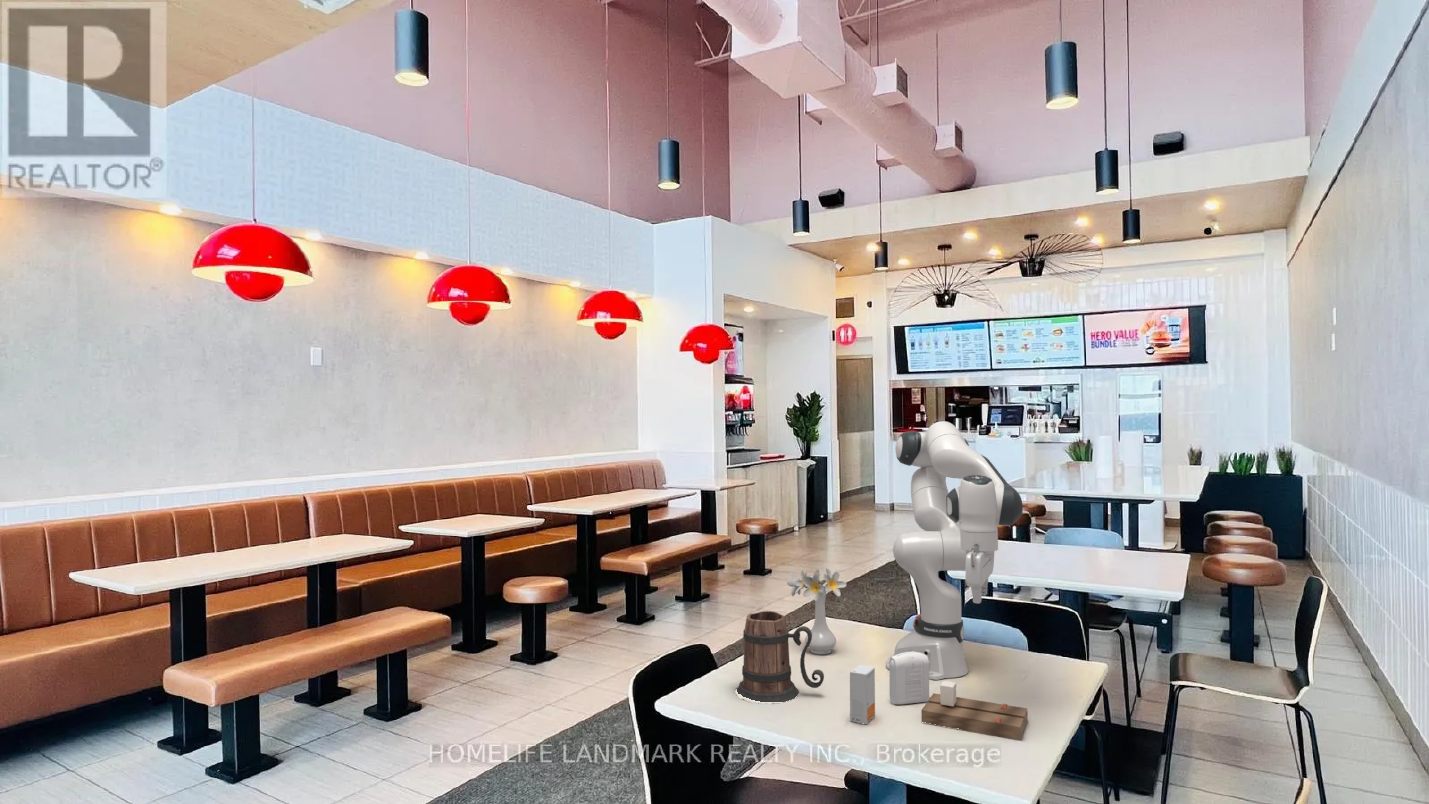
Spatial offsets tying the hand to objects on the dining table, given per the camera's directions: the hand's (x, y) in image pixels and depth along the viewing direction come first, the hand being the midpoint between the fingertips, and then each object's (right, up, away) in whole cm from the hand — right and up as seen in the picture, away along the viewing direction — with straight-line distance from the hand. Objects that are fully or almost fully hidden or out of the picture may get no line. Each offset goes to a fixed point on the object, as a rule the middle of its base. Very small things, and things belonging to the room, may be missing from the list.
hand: (980, 598), depth 195 cm
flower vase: (-34, -28, +47) cm, 64 cm away
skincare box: (-30, -28, -4) cm, 41 cm away
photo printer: (-16, -28, +6) cm, 32 cm away
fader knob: (-9, -26, -4) cm, 28 cm away
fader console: (-4, -27, -7) cm, 28 cm away
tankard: (-48, -28, +14) cm, 57 cm away
